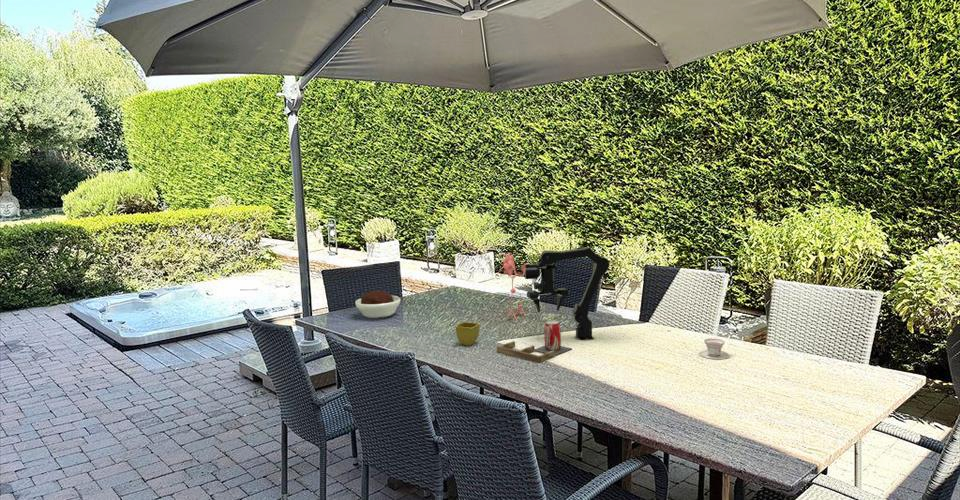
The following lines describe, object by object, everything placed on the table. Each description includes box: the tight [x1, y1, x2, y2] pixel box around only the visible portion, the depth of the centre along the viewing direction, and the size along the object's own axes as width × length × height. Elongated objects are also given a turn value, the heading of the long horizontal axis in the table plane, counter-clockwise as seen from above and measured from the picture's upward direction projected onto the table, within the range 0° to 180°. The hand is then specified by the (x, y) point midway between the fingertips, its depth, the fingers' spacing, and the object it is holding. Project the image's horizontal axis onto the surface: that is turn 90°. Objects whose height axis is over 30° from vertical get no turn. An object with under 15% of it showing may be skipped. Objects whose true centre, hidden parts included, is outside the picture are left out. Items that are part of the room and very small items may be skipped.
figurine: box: [494, 252, 532, 321], centre depth 317 cm, size 15×26×35 cm, turn 146°
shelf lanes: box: [496, 340, 556, 364], centre depth 253 cm, size 11×24×2 cm, turn 45°
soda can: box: [543, 319, 562, 351], centre depth 257 cm, size 7×7×12 cm
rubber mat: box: [534, 345, 573, 357], centre depth 257 cm, size 12×12×1 cm
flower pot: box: [454, 321, 481, 346], centre depth 272 cm, size 9×9×9 cm
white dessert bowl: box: [355, 290, 401, 319], centre depth 332 cm, size 25×25×15 cm
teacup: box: [698, 337, 731, 360], centre depth 242 cm, size 12×12×6 cm
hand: (548, 311), depth 273 cm, fingers open, 9 cm apart
